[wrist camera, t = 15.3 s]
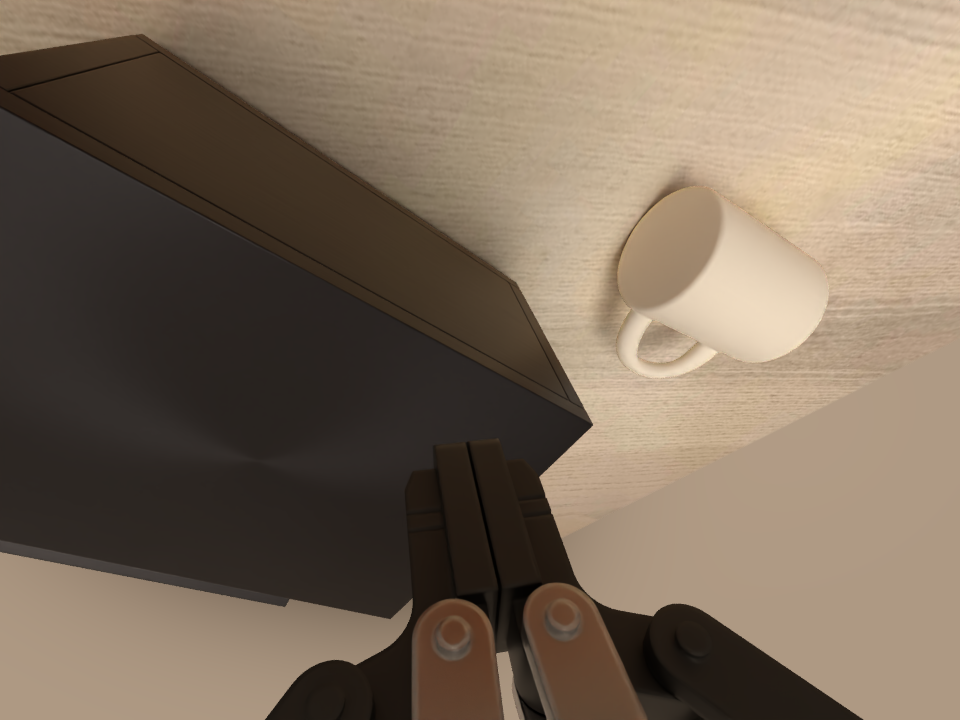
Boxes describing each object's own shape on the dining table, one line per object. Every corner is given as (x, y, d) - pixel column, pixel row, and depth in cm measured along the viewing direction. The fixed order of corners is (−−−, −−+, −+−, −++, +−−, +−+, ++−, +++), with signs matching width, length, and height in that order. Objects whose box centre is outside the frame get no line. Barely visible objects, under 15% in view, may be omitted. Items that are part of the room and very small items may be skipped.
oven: (49, 295, 29) (-175, 505, 17) (153, 31, 23) (-76, 65, 11) (382, 430, 39) (390, 619, 27) (511, 272, 34) (594, 425, 22)
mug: (674, 168, 31) (754, 211, 25) (772, 234, 36) (861, 286, 29) (566, 320, 37) (609, 389, 30) (663, 363, 41) (718, 430, 34)
